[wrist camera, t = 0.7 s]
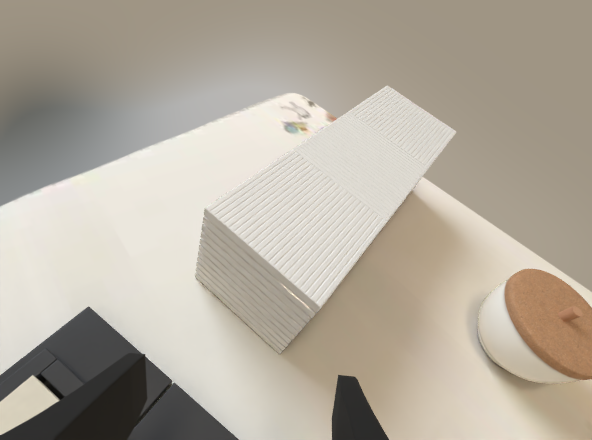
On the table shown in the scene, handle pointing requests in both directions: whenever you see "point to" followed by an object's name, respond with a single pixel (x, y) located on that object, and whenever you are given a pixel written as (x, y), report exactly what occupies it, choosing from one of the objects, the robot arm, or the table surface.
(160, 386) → the keypad
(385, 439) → the robot arm
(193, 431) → the keypad
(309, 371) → the table surface
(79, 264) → the table surface
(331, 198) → the stack of papers
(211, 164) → the table surface
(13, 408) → the white key
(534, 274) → the trinket box
